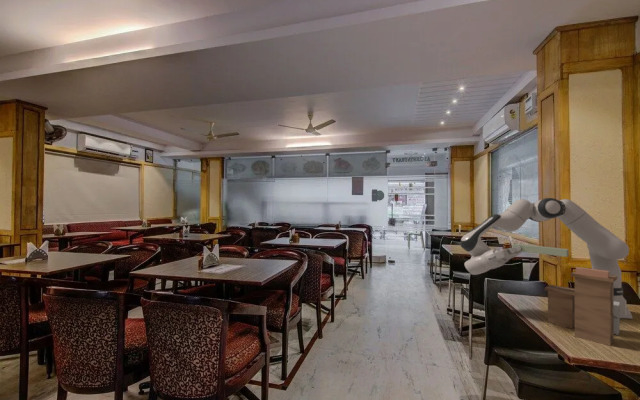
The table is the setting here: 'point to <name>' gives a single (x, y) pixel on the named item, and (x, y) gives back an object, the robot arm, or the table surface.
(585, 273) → the terracotta rod
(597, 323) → the brown wooden tall block
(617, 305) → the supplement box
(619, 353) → the table surface
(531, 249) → the sage rod
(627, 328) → the table surface
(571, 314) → the low shelf
